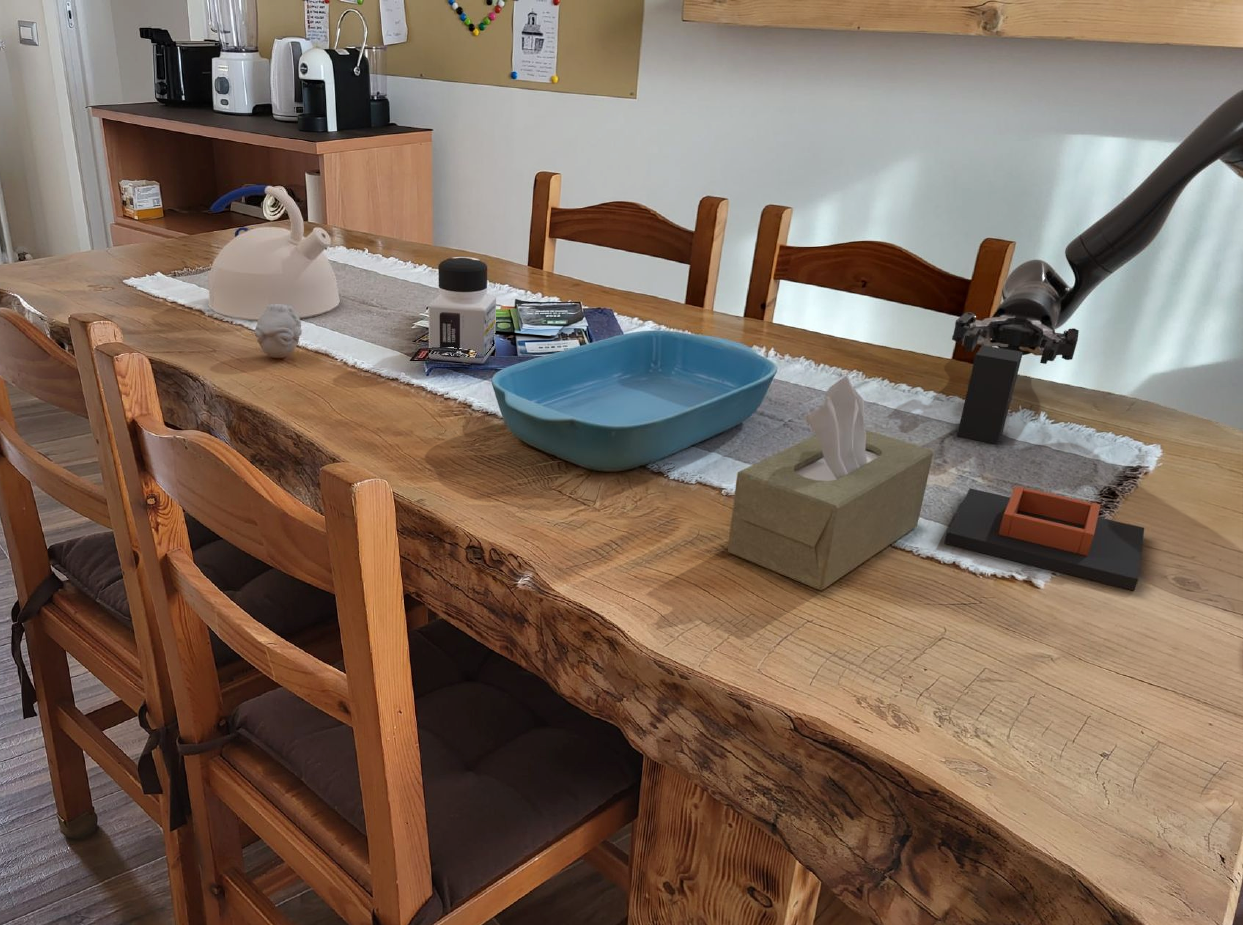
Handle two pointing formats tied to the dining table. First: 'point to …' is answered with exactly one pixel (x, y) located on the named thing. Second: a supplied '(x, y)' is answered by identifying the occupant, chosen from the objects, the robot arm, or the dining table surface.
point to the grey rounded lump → (278, 330)
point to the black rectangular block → (989, 394)
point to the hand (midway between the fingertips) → (1006, 349)
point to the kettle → (272, 266)
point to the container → (462, 310)
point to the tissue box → (829, 496)
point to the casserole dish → (632, 396)
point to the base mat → (1049, 535)
